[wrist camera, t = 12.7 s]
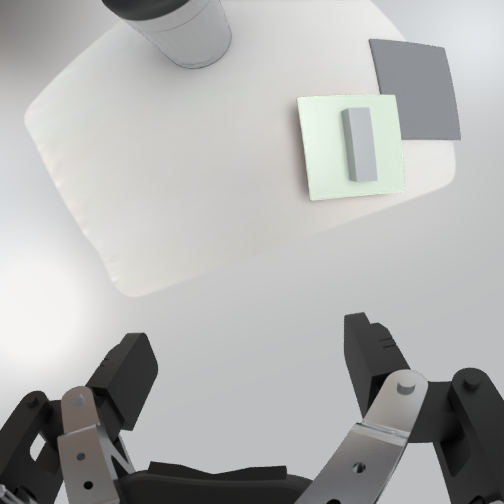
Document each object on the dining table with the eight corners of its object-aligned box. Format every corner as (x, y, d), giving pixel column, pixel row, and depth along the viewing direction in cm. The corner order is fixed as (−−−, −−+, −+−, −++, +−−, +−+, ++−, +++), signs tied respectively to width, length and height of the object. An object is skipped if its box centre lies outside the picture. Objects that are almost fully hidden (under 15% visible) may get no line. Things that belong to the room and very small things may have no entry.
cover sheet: (296, 98, 30) (299, 92, 27) (392, 96, 29) (405, 90, 26) (309, 199, 34) (314, 205, 31) (402, 191, 33) (416, 196, 29)
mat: (368, 40, 31) (370, 38, 30) (442, 48, 30) (444, 47, 29) (387, 139, 36) (388, 139, 35) (458, 140, 34) (460, 140, 34)
